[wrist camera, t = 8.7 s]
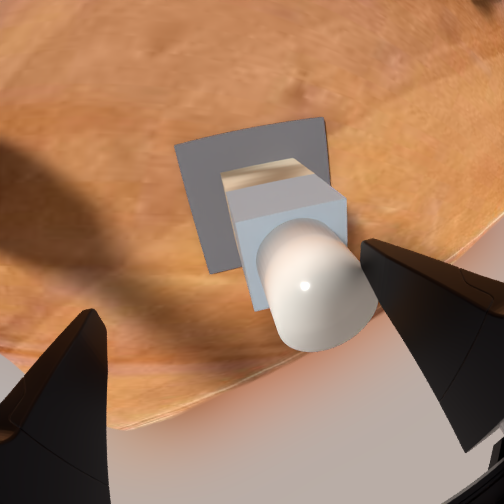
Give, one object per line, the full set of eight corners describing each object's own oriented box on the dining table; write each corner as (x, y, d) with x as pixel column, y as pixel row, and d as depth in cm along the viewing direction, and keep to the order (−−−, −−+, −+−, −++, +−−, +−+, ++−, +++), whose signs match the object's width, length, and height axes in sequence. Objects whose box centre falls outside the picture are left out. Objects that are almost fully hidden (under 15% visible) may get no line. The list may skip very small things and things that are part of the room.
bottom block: (234, 238, 22) (243, 268, 18) (220, 173, 19) (225, 191, 16) (301, 223, 22) (320, 249, 19) (293, 157, 20) (314, 173, 16)
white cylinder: (262, 300, 15) (282, 362, 11) (248, 229, 13) (269, 285, 9) (338, 280, 15) (373, 333, 12) (336, 209, 13) (383, 254, 10)
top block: (242, 268, 18) (254, 311, 15) (225, 192, 16) (235, 223, 12) (320, 249, 19) (346, 286, 15) (314, 173, 16) (346, 198, 13)
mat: (209, 271, 23) (209, 274, 23) (174, 145, 18) (174, 146, 18) (331, 241, 24) (333, 244, 24) (321, 116, 19) (323, 117, 18)
